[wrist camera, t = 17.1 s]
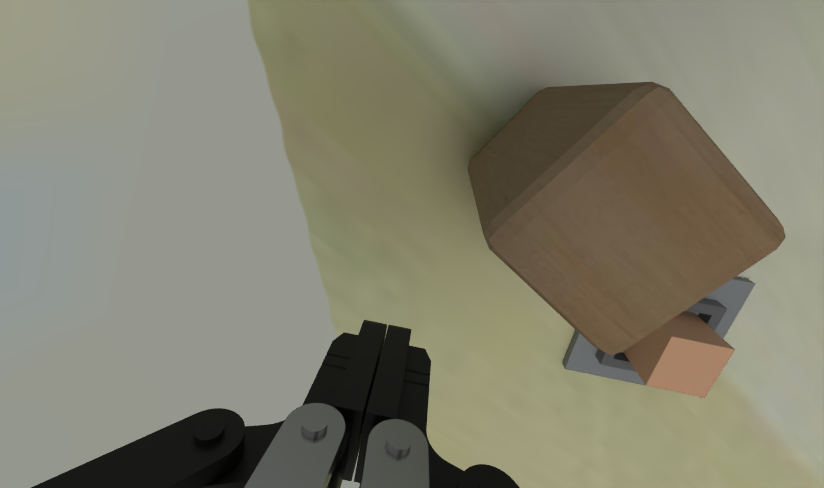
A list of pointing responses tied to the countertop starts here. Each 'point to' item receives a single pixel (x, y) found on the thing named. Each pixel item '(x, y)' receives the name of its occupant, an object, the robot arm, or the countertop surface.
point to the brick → (681, 356)
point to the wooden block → (617, 208)
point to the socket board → (711, 309)
